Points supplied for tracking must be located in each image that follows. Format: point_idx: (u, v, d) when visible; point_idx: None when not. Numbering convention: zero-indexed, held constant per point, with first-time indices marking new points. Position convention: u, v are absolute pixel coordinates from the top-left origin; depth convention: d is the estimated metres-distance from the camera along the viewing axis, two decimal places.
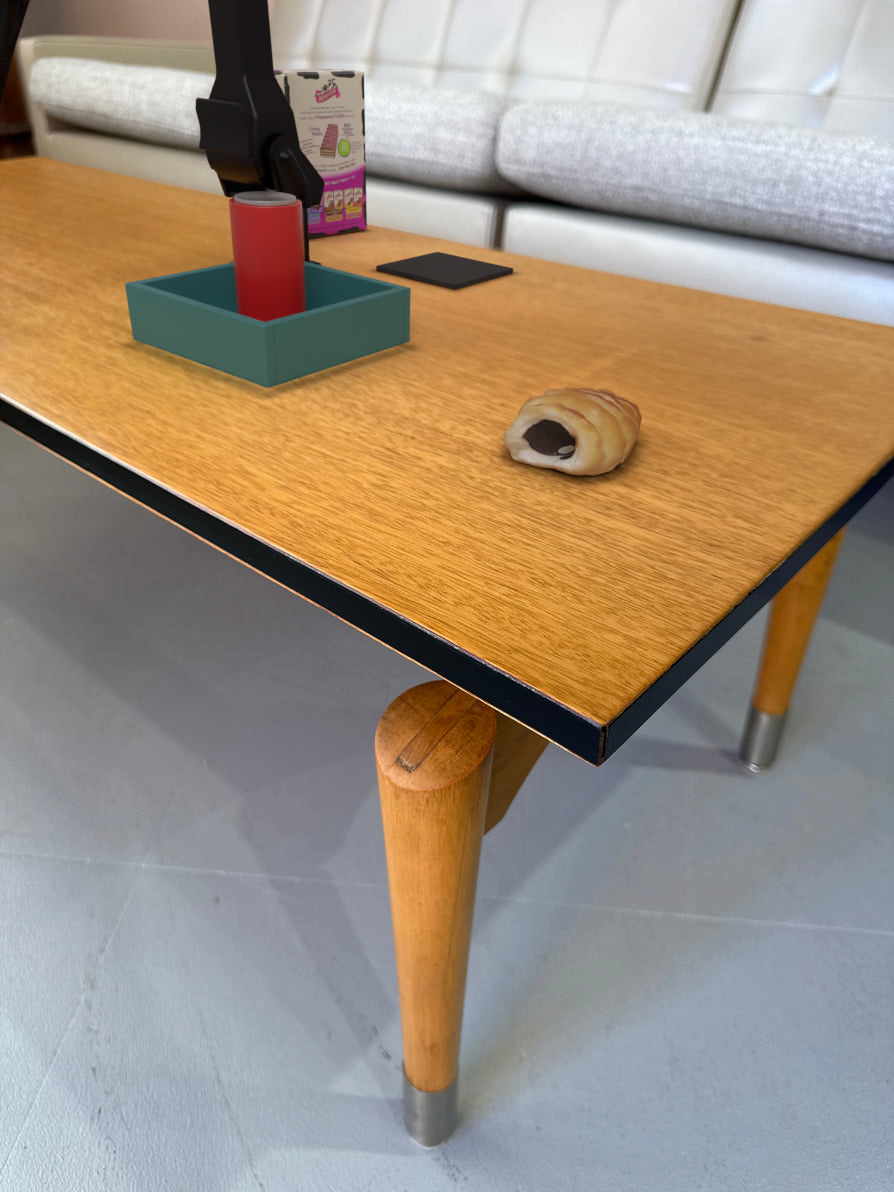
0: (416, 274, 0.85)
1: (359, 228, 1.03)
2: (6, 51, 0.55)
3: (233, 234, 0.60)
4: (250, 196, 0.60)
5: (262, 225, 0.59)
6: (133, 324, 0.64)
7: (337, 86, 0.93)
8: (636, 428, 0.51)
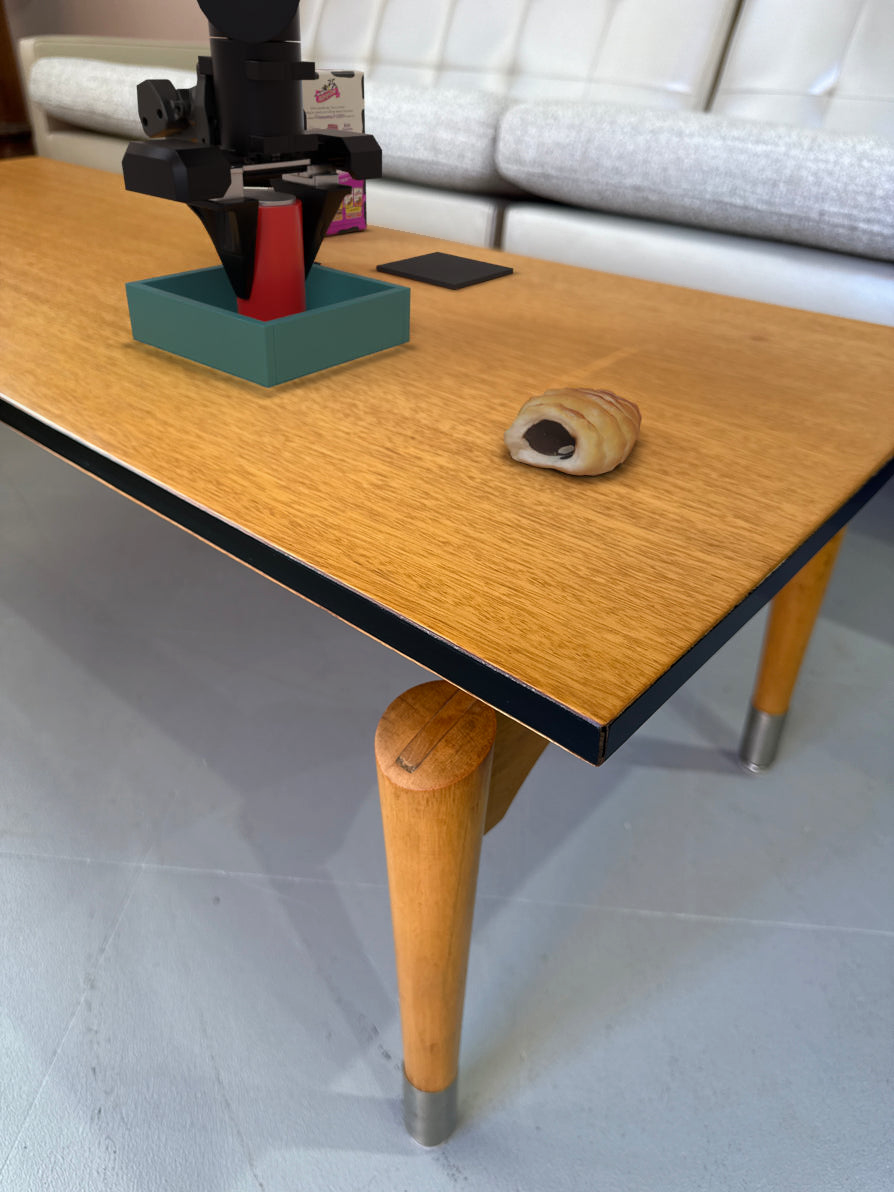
0: (416, 274, 0.85)
1: (359, 228, 1.03)
2: (237, 250, 0.59)
3: None
4: (250, 196, 0.60)
5: (262, 225, 0.59)
6: (133, 324, 0.64)
7: (337, 86, 0.93)
8: (636, 428, 0.51)
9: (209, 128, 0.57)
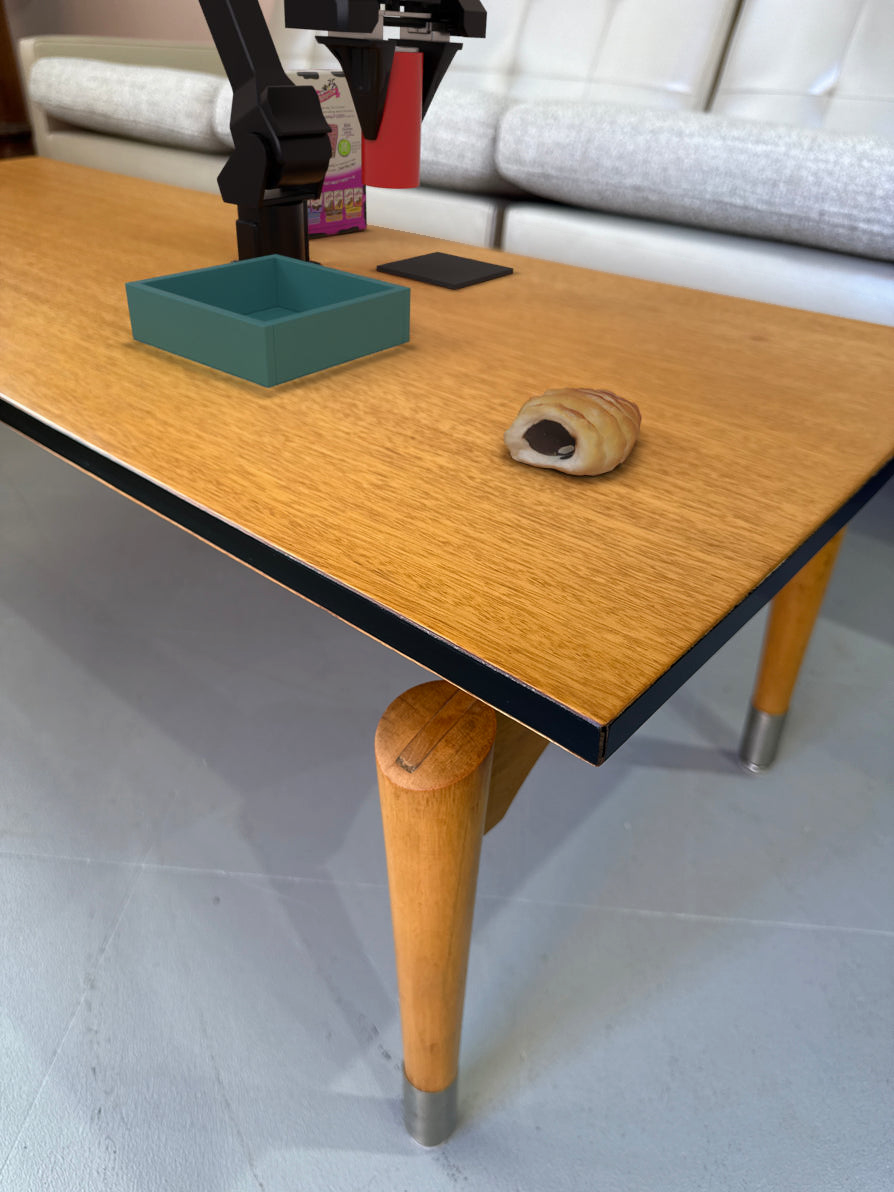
0: (416, 274, 0.85)
1: (359, 228, 1.03)
2: (372, 90, 0.67)
3: None
4: None
5: (393, 69, 0.68)
6: (133, 324, 0.64)
7: (337, 86, 0.93)
8: (636, 428, 0.51)
9: None
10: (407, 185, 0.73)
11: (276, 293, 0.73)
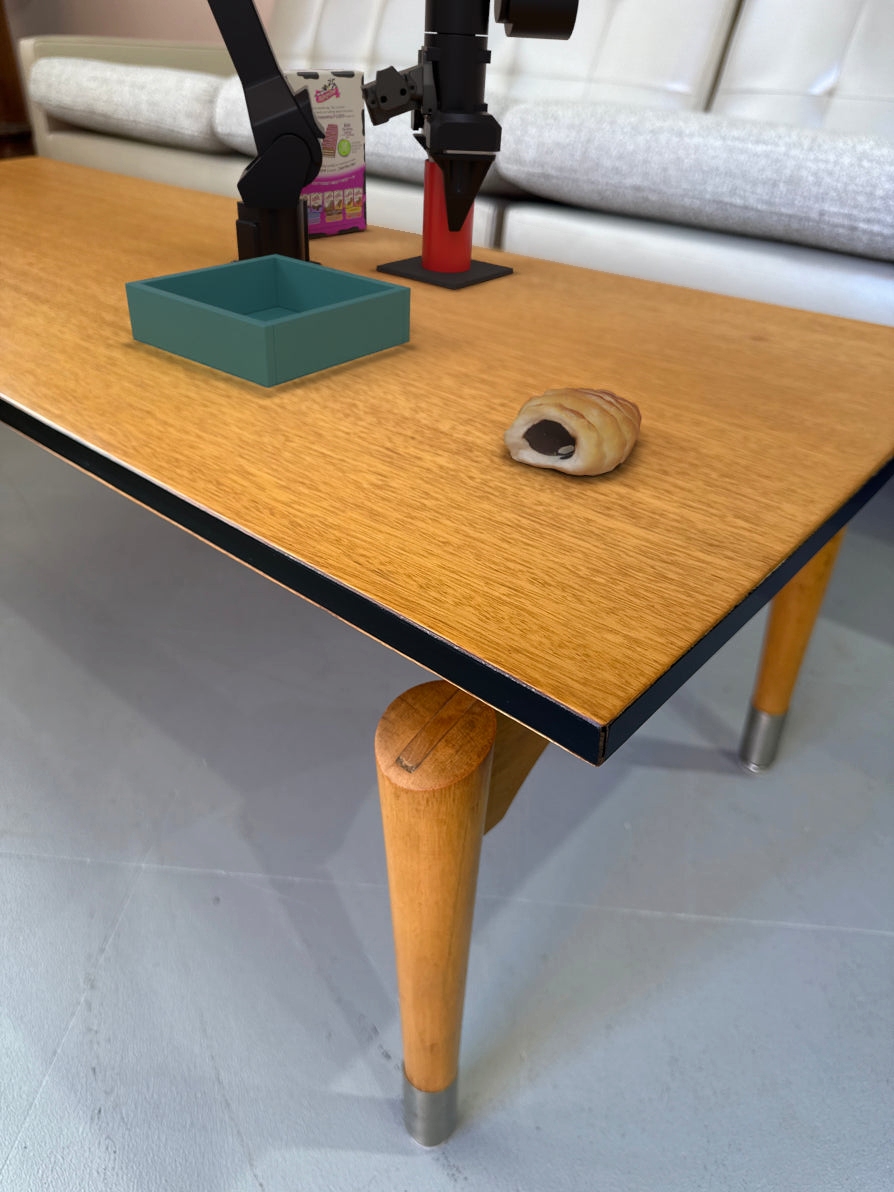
0: (416, 274, 0.85)
1: (359, 228, 1.03)
2: (472, 192, 0.79)
3: None
4: None
5: None
6: (133, 324, 0.64)
7: (337, 86, 0.93)
8: (636, 428, 0.51)
9: (436, 100, 0.78)
10: (470, 266, 0.88)
11: (276, 293, 0.73)
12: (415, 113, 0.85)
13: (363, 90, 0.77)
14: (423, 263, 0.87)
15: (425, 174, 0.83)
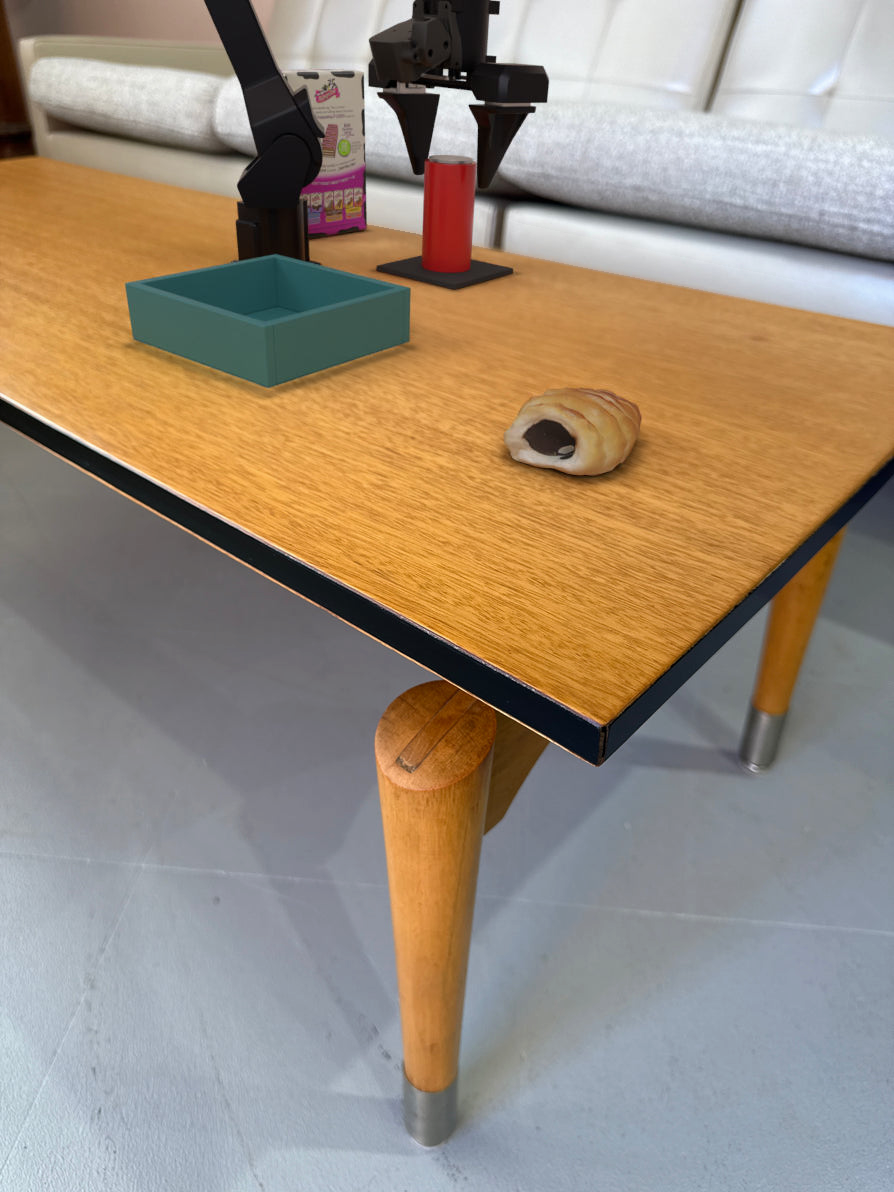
0: (416, 274, 0.85)
1: (359, 228, 1.03)
2: (505, 146, 0.79)
3: (443, 188, 0.82)
4: (446, 158, 0.82)
5: (469, 178, 0.82)
6: (133, 324, 0.64)
7: (337, 86, 0.93)
8: (636, 428, 0.51)
9: (461, 53, 0.75)
10: (470, 266, 0.88)
11: (276, 293, 0.73)
12: None
13: (396, 44, 0.72)
14: (423, 263, 0.87)
15: (425, 174, 0.83)
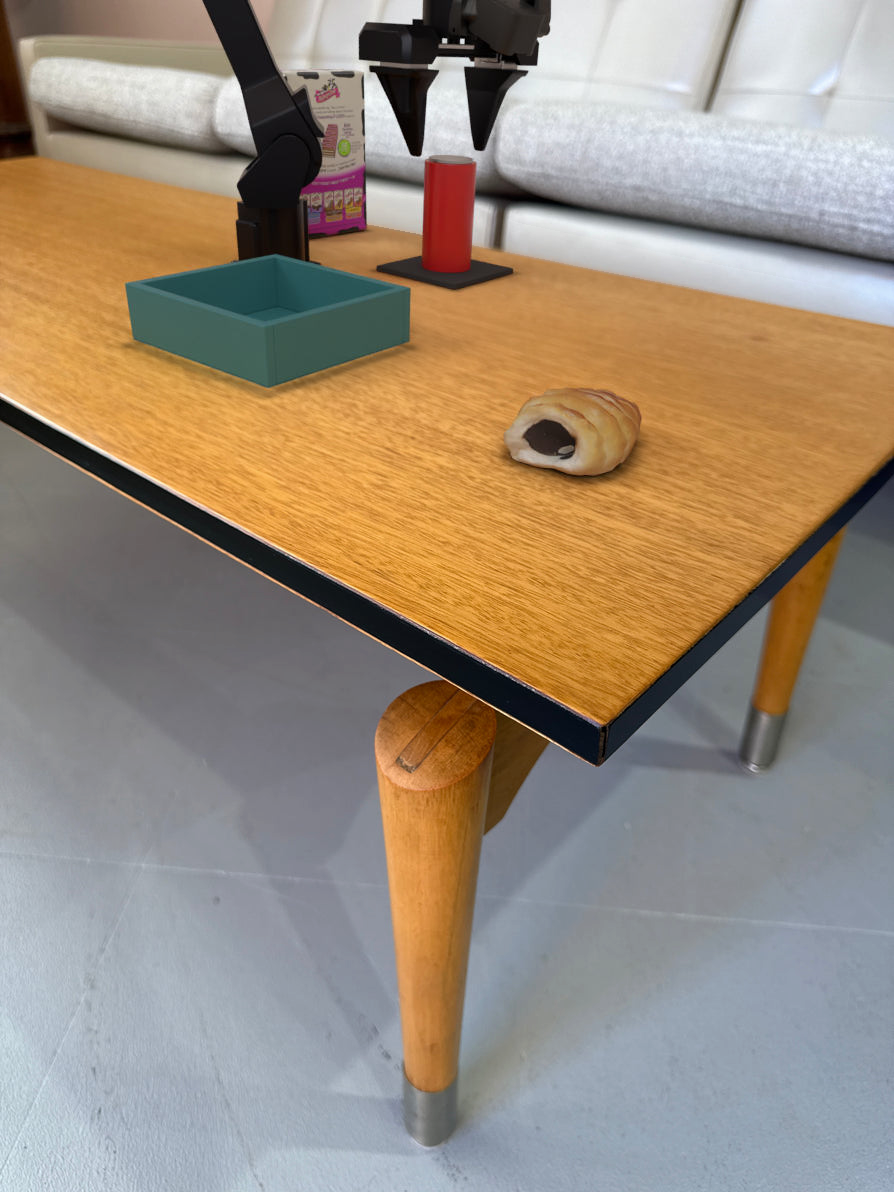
0: (416, 274, 0.85)
1: (359, 228, 1.03)
2: None
3: (443, 188, 0.82)
4: (446, 158, 0.82)
5: (469, 178, 0.82)
6: (133, 324, 0.64)
7: (337, 86, 0.93)
8: (636, 428, 0.51)
9: None
10: (470, 266, 0.88)
11: (276, 293, 0.73)
12: (437, 42, 0.73)
13: (544, 17, 0.73)
14: (423, 263, 0.87)
15: (425, 174, 0.83)
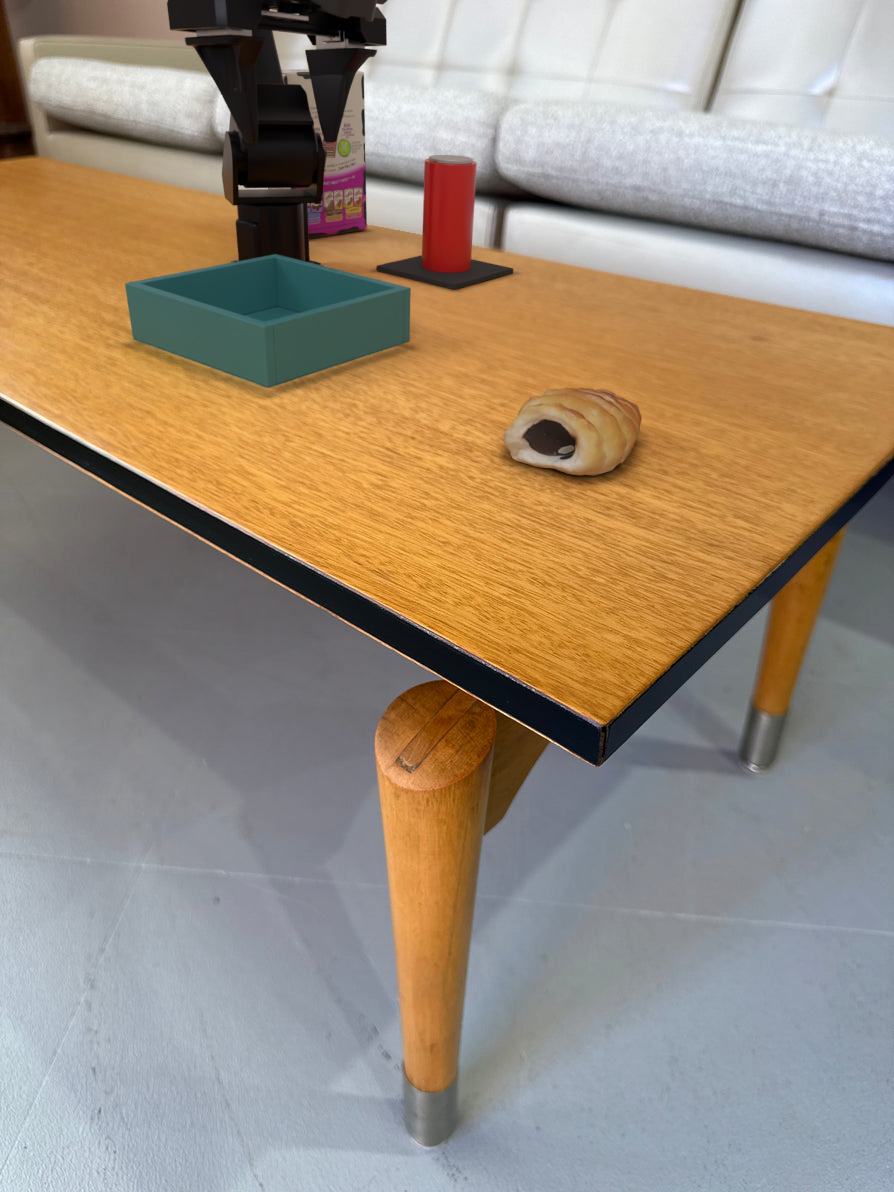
0: (416, 274, 0.85)
1: (359, 228, 1.03)
2: None
3: (443, 188, 0.82)
4: (446, 158, 0.82)
5: (469, 178, 0.82)
6: (133, 324, 0.64)
7: None
8: (636, 428, 0.51)
9: None
10: (470, 266, 0.88)
11: (276, 293, 0.73)
12: (259, 5, 0.63)
13: None
14: (423, 263, 0.87)
15: (425, 174, 0.83)
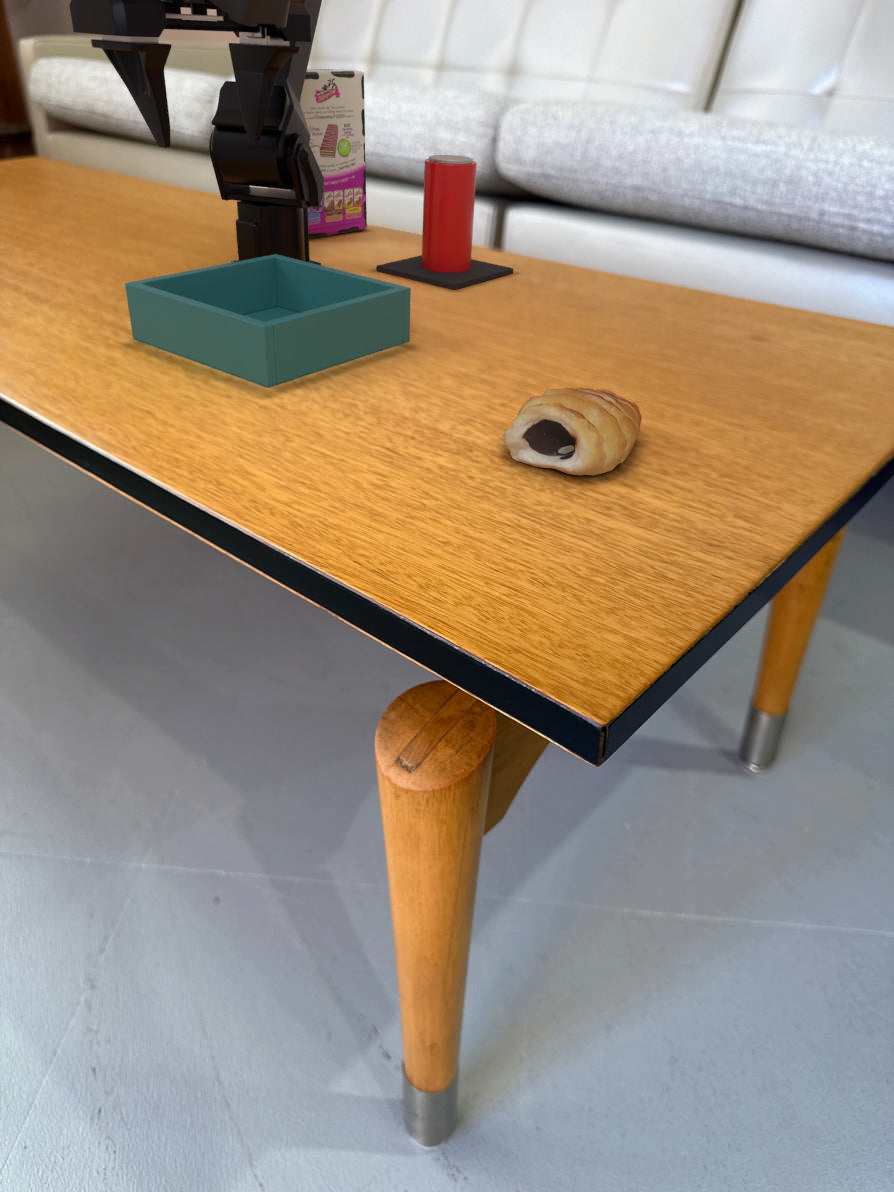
0: (416, 274, 0.85)
1: (359, 228, 1.03)
2: None
3: (443, 188, 0.82)
4: (446, 158, 0.82)
5: (469, 178, 0.82)
6: (133, 324, 0.64)
7: (337, 86, 0.93)
8: (636, 428, 0.51)
9: None
10: (470, 266, 0.88)
11: (276, 293, 0.73)
12: (164, 11, 0.61)
13: None
14: (423, 263, 0.87)
15: (425, 174, 0.83)
